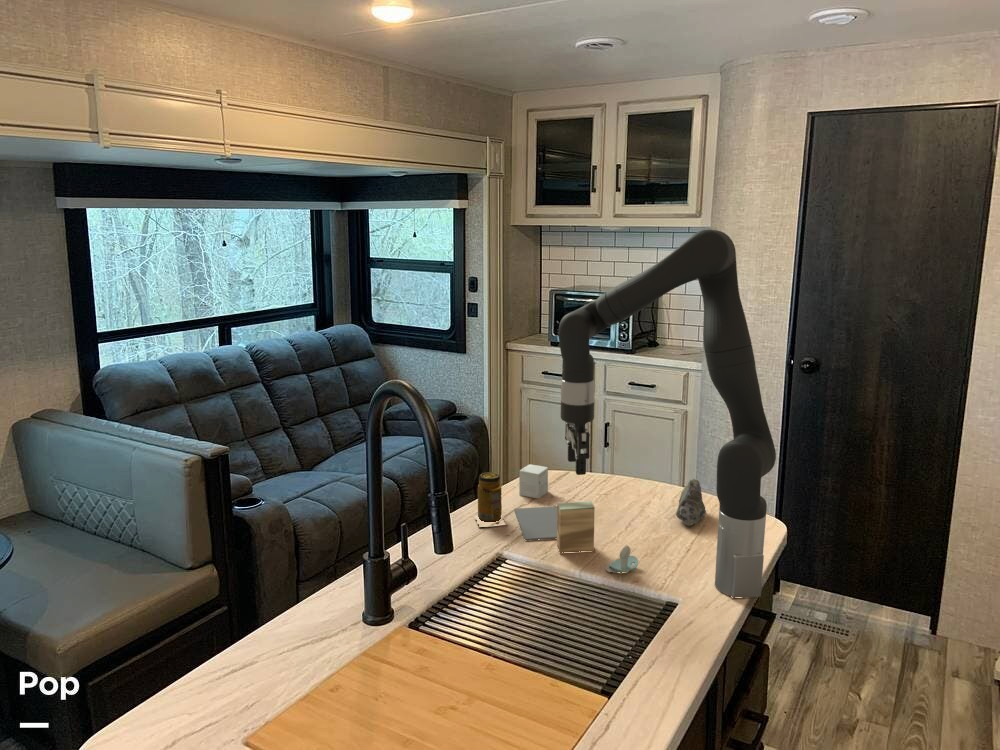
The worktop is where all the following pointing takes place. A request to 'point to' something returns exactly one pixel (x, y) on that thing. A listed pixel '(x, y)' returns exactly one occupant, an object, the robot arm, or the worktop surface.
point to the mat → (538, 522)
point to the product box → (533, 481)
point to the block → (575, 526)
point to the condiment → (489, 497)
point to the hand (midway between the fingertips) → (576, 467)
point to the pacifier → (623, 562)
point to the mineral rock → (691, 503)
